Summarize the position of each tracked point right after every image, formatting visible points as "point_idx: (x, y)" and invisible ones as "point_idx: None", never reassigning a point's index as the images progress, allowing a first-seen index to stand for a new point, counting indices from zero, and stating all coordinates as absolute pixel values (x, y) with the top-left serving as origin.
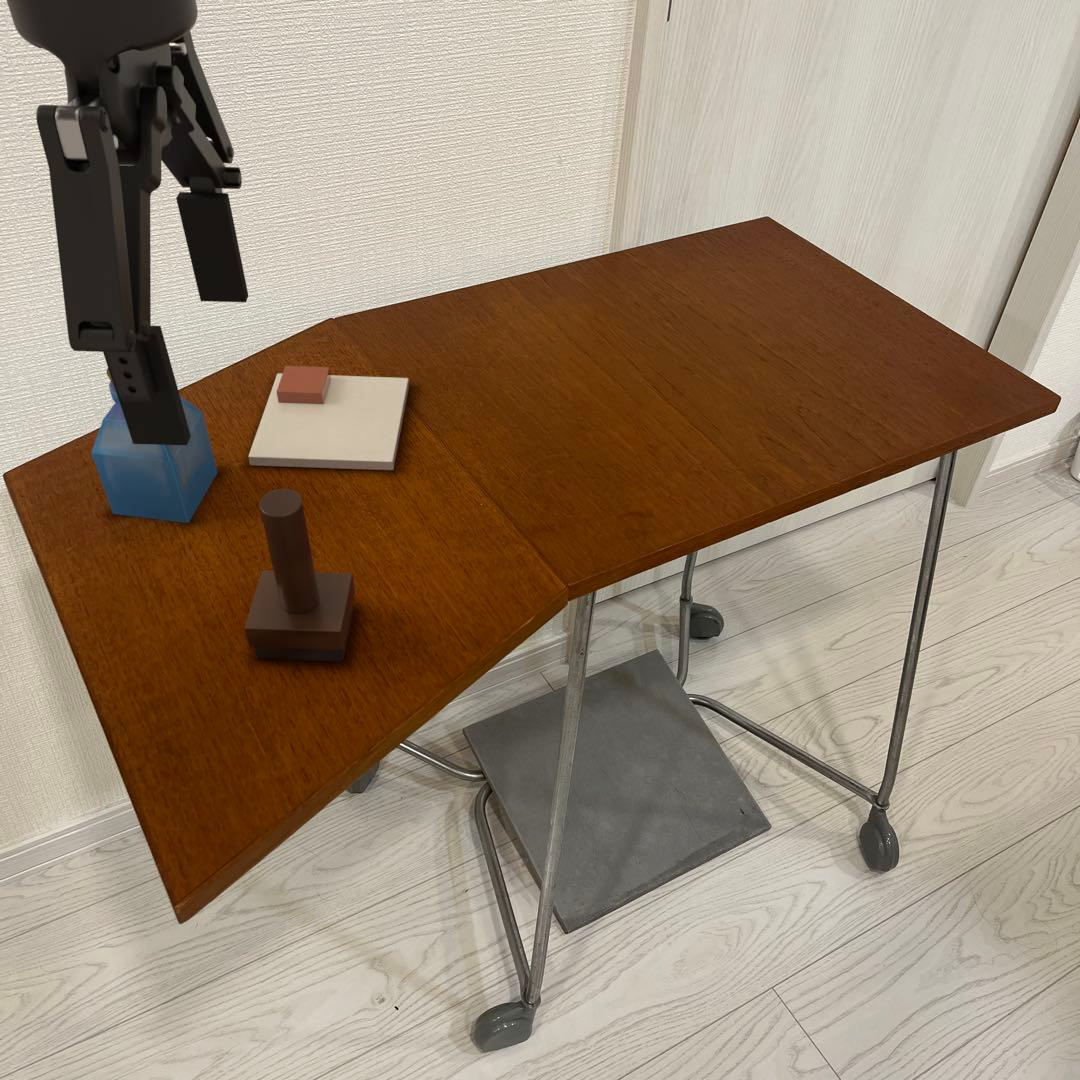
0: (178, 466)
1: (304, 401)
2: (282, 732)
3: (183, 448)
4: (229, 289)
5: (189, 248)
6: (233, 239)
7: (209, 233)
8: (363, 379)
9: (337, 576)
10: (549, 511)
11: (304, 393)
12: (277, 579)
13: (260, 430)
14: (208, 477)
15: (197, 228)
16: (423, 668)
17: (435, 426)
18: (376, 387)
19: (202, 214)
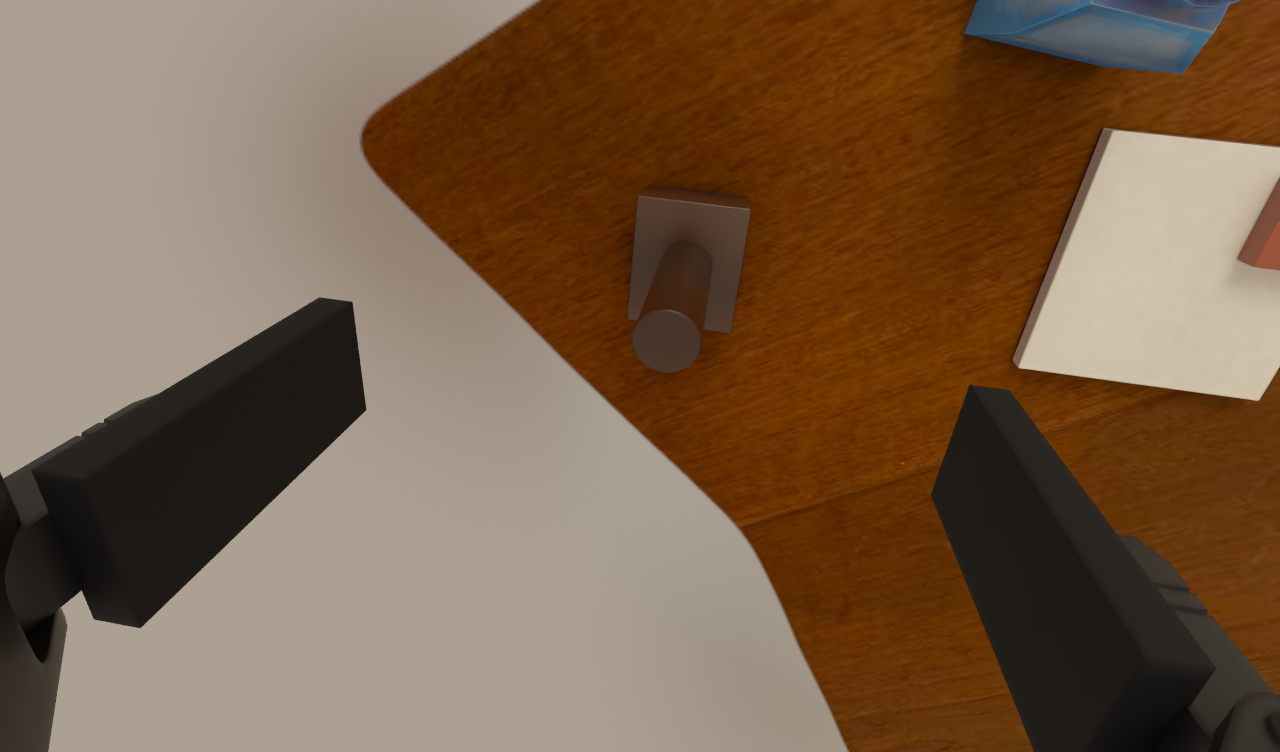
0: (1024, 38)
1: (1257, 226)
2: (539, 227)
3: (1067, 47)
4: (952, 487)
5: (1037, 493)
6: (995, 648)
7: (1028, 606)
8: None
9: (726, 314)
10: (870, 532)
11: (1269, 233)
12: (662, 265)
13: (1193, 145)
14: (1073, 58)
15: (1052, 590)
16: (628, 378)
17: (1108, 422)
18: (1251, 349)
19: (1065, 664)
